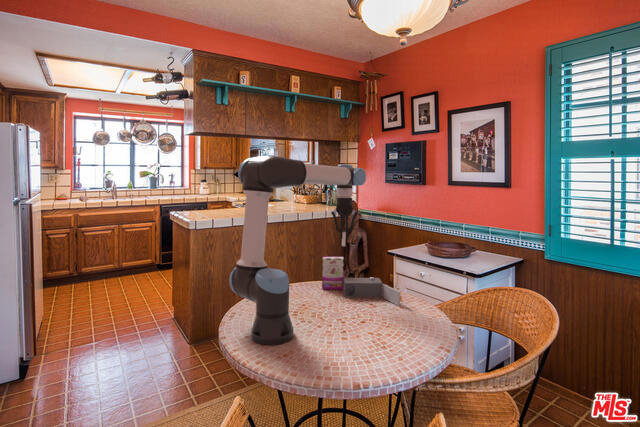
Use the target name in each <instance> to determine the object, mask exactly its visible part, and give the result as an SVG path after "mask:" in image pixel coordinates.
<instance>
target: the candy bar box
mask: <svg viewBox="0 0 640 427" xmlns="http://www.w3.org/2000/svg"><path fill="white" fill-rule="evenodd" d="M321 261H322V262H321V263H322V264H321V265H322V266H321V267H322V274H321V275H322V276H321V281H322V282H321V284H322V285H321V289H322V290H325V291H327V290H328V291H330V290H332V291H343V278H345V273H344V272H345V258H344V256H322V260H321Z"/></svg>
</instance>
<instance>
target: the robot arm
mask: <svg viewBox="0 0 640 427" xmlns="http://www.w3.org/2000/svg"><path fill="white" fill-rule="evenodd" d="M237 175H238V176H237V177H238V180H239V181H240V183H241V185H242V192H243V193H244V195H245V202H244V203H245V205H244V217H243V230H242V239H241V252H240V253H241V254H240V259H238V260H237V261H236V263H235V264H236V265H235V267H234V268H233V270H232V271H231V272H230V275H229V280H228V283H229V284H228V285H229V287H230V290H231V291H232V292H233V293H235V295H237V296H238V297H240V298H242V299H246V300H249V301H251V302H253V303H255V318H254V321H253V324H252V327H251V330H250V338H251V340H252V341H253V342H255V343H257V344H259V345H264V346H278V345H282V344H284V343H287V342H289V341H291V340H292V339H293V338H294V332H295V331H294V330H295V329H294V326H293V323H292V320H291V317H290V279H289V276H288V274H287V273H286V272H285V271H284V270H281V269H277V268H268V264H267V262H266V261H265V260H264V258H265V250H266V248H265V247H266V235H267V226H268V225H267V223H268V222H267V221H268V210H269V201H270V198H271V196H272V195H274V190H275V189H280V188H286V187H301V186H302V185H304V184H305V185H324V186H325V185H326V186H336V205H335V206H336V207H335V209H334V210H332V211H330V213H331V216H332V217H333V222H334V226H335V230H336V232H338V233H339V240H341V247H346V240H348V239H349V233H350V232H352V231H353V227H354V223H355V219H356V217H357V215H358V211H356V210H355V209H354V207H353V186H356V187H358V186H363V185H364V184H365V183H366V181H367V173H366V170H365V169H364V168H362V167H354V166H353V165H351V164H338V165H337V166H335V165H334V166H333V165H324V164H314V163H305V162H304V161H302V160H301V159H294V158H293V159H292V158H288V157H287V158H286V157H284V156H276V155H270V156H269V155H267V156H264V155H262V156H252V157H249V158H246V159H245V160H244V161H242V162H241V164H240V166H239V167H238V171H237ZM337 214H338V215H339V224H338V219H337ZM350 215H352V216H351V220H350V222H349V217H350ZM344 218H345V219H344ZM344 220H345V221H344ZM344 222H345V223H344ZM343 226H344V228H343ZM343 229H344V231H343Z"/></svg>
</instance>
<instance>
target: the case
mask: <svg viewBox="0 0 640 427" xmlns="http://www.w3.org/2000/svg"><path fill="white" fill-rule="evenodd" d="M383 284H384V283H383V282H382V280H381V279H380V277H373V276H372V277H371V276H370V277H344V278H343V290H342V292H343V296H344V298H382V289H383Z"/></svg>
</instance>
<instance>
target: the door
mask: <svg viewBox="0 0 640 427" xmlns="http://www.w3.org/2000/svg"><path fill="white" fill-rule="evenodd" d="M381 298H382V299H384V300H386V301H389V302H391V303H392V304H395V305H396V306H398V307H400V306H401V302H402V300H403V296H402V295H401V291H399V290H397V289H395V288H393V287H391V286H389V285H387V284H386V283H383V284H382V297H381Z"/></svg>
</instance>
